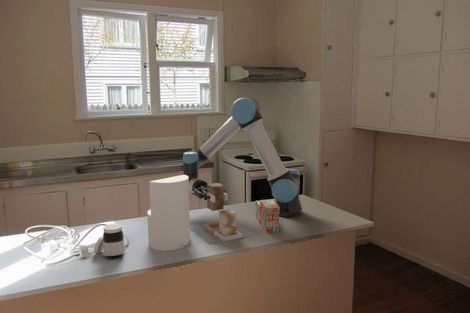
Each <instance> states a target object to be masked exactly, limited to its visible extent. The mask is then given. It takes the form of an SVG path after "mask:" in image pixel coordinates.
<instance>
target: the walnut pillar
mask: <svg viewBox="0 0 470 313" xmlns="http://www.w3.org/2000/svg"><path fill="white" fill-rule="evenodd" d="M224 190H225V187H224V184H221V183H219V182H215V183H207V193H210V194H212V195H214V196H215V202H212V201H210V200H208V199H207V200H206V205H207V206H206V207H207V209H209V210H211V212H214V211H215V212H216V211H222V210H225V209H224V201H225V200H224Z"/></svg>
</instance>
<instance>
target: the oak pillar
mask: <svg viewBox="0 0 470 313" xmlns="http://www.w3.org/2000/svg"><path fill="white" fill-rule="evenodd" d="M218 219H219V220H218V222H219V233H220V234H221V235H223V236H224V237H226V236H230V235H235V234H236V224H237V212H236V211H235V210H233V209H231V208H230V209H222V210H218Z"/></svg>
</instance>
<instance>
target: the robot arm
mask: <svg viewBox="0 0 470 313" xmlns="http://www.w3.org/2000/svg"><path fill="white" fill-rule="evenodd" d="M230 114H231V116H230V118H228V119H227V120H226V121H225V122H224V123H223V124H222V125H221V127H219V128H218V129H217V130H216V132H214V134H212V136H210V138H208V139H207V140H206V142H204V143H203V145H201V147H199V148H198V149H197V150H196V151H186V152H184V153H183V155H182V156H183V157H182V166H183V167H182V168H183V169H182V170H183V174H182V175H187V176H188V177H189V192H191V195H193V196H195V197H197V198H199V199H200V200H202V199H203V201H207V199H208V200H210V201H212V202H215V196H214V195H212V194H210V193H207V184H208V182H207V181H205V180H203V179H202V178H199V168H200V167H202V166H204V165H205V164H207V161H208V160H209V159H210V158H211V157H212V156H213V155H215V154H216V152H218V150H219V149H221V148H222V147H223V146H224V145H225V144H226V143H227V142H228V141H230V139H231V138H232V137H233V136H234V135H235V134H237V133H238V131H239V130H241V131H243V132H245V133H246V135H247V136H248V138H249V140H250V142H251V144H252V146H253V148H254V149H255V152H256V153H257V154H256V155H258V158H259V160H260V161H261V163H262V165H263V167H264V169H265V171H266V173H267V175H268V177H267V182H268V184H269V186H270V187H271V194H272V197H273V198H274V199H275V201H274V202H275V203H276V204H277V205H278V206H279V207H280V208H279V217H285V218H293V217H294V218H295V217H299V216H301V215H302V214H303V207H302V203H301V201H300V184H301V182H300V179H301V178H300V177H301V172H300V170H298V169H292V168H287V167H285V166H284V164H283V162H282V160H281V158H280V156H279V154H278V151H277V150H276V147H275V146H274V144H273V142H272V140H271V139H270V137H269V134H268V133H267V131H266V128H265V126H264V125H263V119H264V118H263V115H262V114H261V107H260V103H259V102H258V100H257V99H256V98H253V97H249V96H248V97H240V98H238V99H236V100H235V101H234V102H233V104H232V105H231V108H230ZM228 197H229V196H228V194H227V193H226V189H224V201H225V202H227V201H228V200H229V198H228Z"/></svg>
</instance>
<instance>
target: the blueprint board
mask: <svg viewBox="0 0 470 313" xmlns="http://www.w3.org/2000/svg"><path fill="white" fill-rule="evenodd" d="M191 231H192V232H193V233H194V234H195V235H196V236H198V237H199V238H201V239H202V240H203V241H205V242H206V243H207V244H208V245H217V244H220V243H225V242H230V241H234V240H240V239H244V238H249V237H253V236H255V235H256V234H255V233H253V232H251V231H250V230H248V229H246V228H244V227H243V226H241V225H239V224H238V223H236V234H235V235H230V236H226V237H224V236H223V235H221V234H220V233H219V221H215V222H213V221H212V222H208V223H203V226H202V227H198V228H197V227H196V228H192V229H190V232H191Z"/></svg>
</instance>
